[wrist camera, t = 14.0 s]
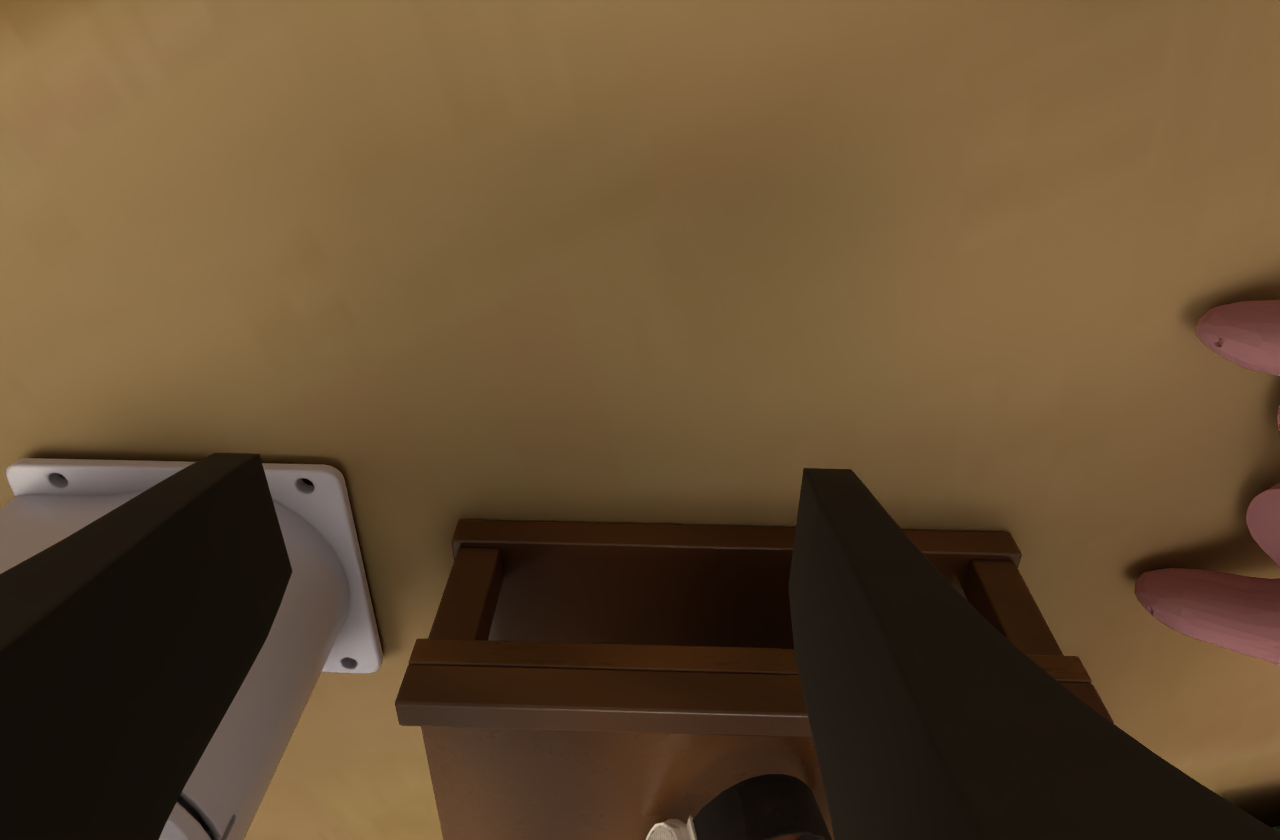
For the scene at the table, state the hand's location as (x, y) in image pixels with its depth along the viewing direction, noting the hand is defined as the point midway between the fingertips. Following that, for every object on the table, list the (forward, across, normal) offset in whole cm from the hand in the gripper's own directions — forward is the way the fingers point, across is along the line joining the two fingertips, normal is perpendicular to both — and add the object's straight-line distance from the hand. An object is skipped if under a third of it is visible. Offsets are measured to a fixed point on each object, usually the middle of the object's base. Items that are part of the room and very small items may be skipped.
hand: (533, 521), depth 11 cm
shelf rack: (+10, -4, +14) cm, 18 cm away
